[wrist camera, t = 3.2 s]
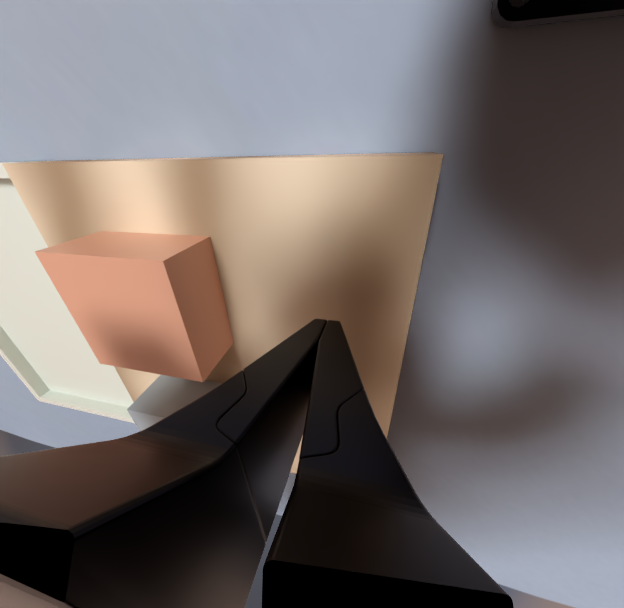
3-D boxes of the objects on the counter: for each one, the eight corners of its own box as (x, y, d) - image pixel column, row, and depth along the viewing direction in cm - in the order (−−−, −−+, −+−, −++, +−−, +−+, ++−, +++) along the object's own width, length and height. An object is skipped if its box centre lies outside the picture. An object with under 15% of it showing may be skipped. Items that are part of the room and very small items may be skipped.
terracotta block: (210, 236, 10) (162, 261, 8) (233, 342, 12) (203, 382, 10) (101, 230, 11) (34, 251, 9) (144, 329, 13) (100, 363, 11)
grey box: (243, 387, 14) (218, 429, 12) (256, 443, 16) (237, 486, 14) (162, 372, 15) (126, 409, 13) (186, 427, 18) (159, 465, 15)
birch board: (432, 152, 9) (443, 154, 7) (377, 460, 18) (376, 493, 16) (55, 160, 12) (1, 163, 10) (172, 416, 21) (154, 439, 20)
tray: (46, 161, 12) (16, 162, 11) (166, 415, 21) (156, 428, 20) (-118, 164, 15) (-155, 166, 14) (52, 390, 24) (38, 400, 23)
